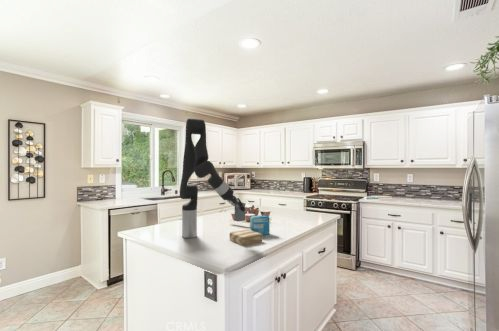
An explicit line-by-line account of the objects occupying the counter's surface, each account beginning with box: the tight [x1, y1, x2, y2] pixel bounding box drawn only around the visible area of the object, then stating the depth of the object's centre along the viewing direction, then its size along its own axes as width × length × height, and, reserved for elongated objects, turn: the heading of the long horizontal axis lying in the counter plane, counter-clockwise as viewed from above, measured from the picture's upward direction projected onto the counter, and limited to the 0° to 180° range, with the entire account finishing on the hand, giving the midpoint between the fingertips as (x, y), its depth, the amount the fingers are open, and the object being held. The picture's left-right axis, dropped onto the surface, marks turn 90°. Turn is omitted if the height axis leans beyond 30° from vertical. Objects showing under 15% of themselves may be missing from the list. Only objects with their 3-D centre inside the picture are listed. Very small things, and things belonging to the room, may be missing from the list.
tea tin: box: [234, 202, 246, 222], centre depth 155 cm, size 4×4×10 cm
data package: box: [249, 215, 270, 236], centre depth 176 cm, size 12×4×12 cm, turn 108°
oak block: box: [229, 229, 263, 247], centre depth 160 cm, size 14×14×5 cm
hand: (241, 209), depth 155 cm, fingers closed on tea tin, 4 cm apart
